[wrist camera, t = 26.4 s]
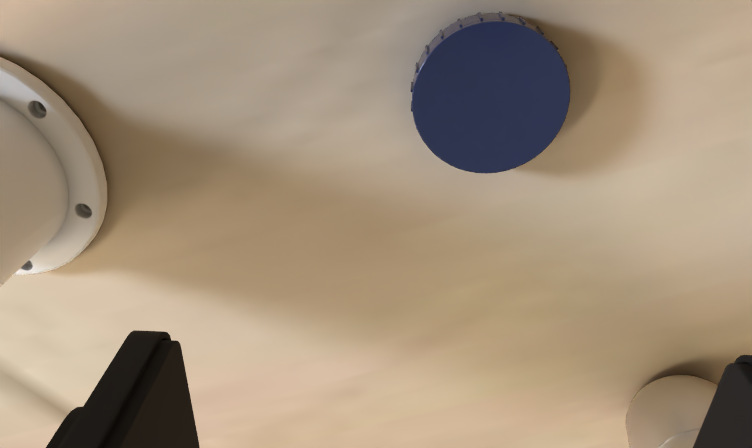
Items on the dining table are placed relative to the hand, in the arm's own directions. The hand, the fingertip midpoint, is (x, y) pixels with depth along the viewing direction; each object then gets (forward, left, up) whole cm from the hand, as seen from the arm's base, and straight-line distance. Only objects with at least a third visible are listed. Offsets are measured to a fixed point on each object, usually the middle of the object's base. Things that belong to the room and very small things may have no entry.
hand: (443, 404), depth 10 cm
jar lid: (+2, +1, -18) cm, 18 cm away
